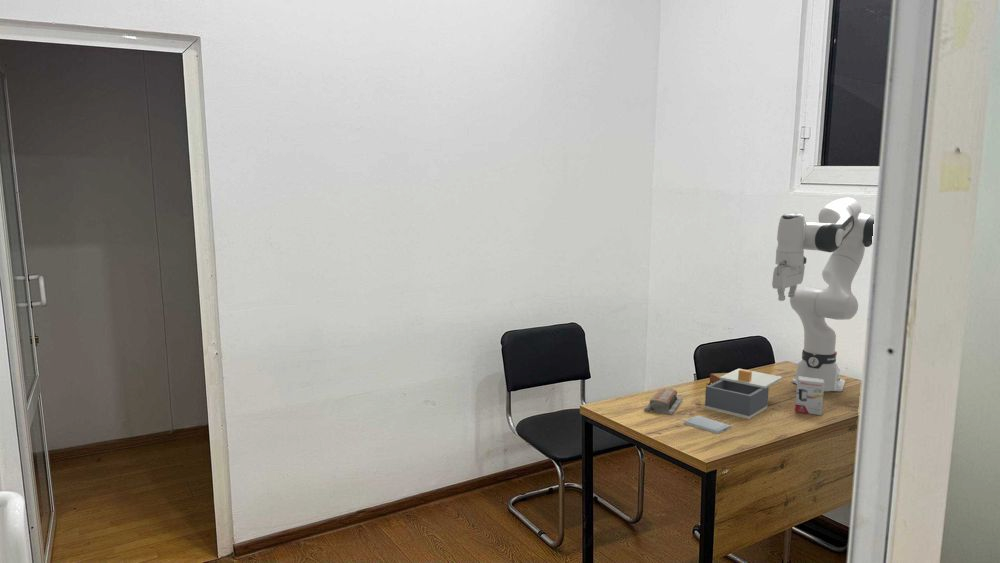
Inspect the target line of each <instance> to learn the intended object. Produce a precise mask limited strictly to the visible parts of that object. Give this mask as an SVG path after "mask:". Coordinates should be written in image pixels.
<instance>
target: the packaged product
mask: <svg viewBox="0 0 1000 563" xmlns="http://www.w3.org/2000/svg"><path fill="white" fill-rule="evenodd" d="M677 395H678V390H675V389H674V388H664V389H659V390H658V391H657V392H656V393H655V394H654V395H653V397H652V398H651V399H650V400H649V403H648V404H647V405H646V406H645V407H644V411H645V410H647V411H646V412H650V411H652V412H651V413H656V412H657V413H658V414H663V415H669V414H670V415H671V416H673V415H674V413H675V412H676V411H677V410H678V408H679V407H680V406H681V404H682V403H683V401H682V400H684V397H681V396H679V397H678V396H677Z"/></svg>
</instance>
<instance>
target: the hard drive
mask: <svg viewBox="0 0 1000 563" xmlns="http://www.w3.org/2000/svg"><path fill="white" fill-rule="evenodd" d="M683 422H684V423H683V424H684V425H687V426H690V427H693V428H696V429H701V430H704V431H707V432H710V433H714V434H717V435H719V434H721V433H723V432H726V431H728V430H730V429H732V424H731V425H730V424H727V423H724V422H720V421H718V420H717V421H716V420H714V419H710V418H707V417H704V416H700V415H695V416H693V417H690V418H687V419H686V420H684V421H683Z"/></svg>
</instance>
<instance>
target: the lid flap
mask: <svg viewBox="0 0 1000 563" xmlns="http://www.w3.org/2000/svg"><path fill="white" fill-rule="evenodd" d="M727 373H728V374H726V375H723V376H721V377H720V379H721V380H726V381H731V382H735V383H740V384H745V385H750V386H754V387H759V388H764V389H766V388H767V387H769V388H770V387H771V386H772V385H775V384H776V383H778V382H780V381H782V380H783V376H780V375H775V374H770V373H769V374H768V373H764V372H759V371H754V370H749V369H743V368H737V369H735V370H732V371H730V372H727Z"/></svg>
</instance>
